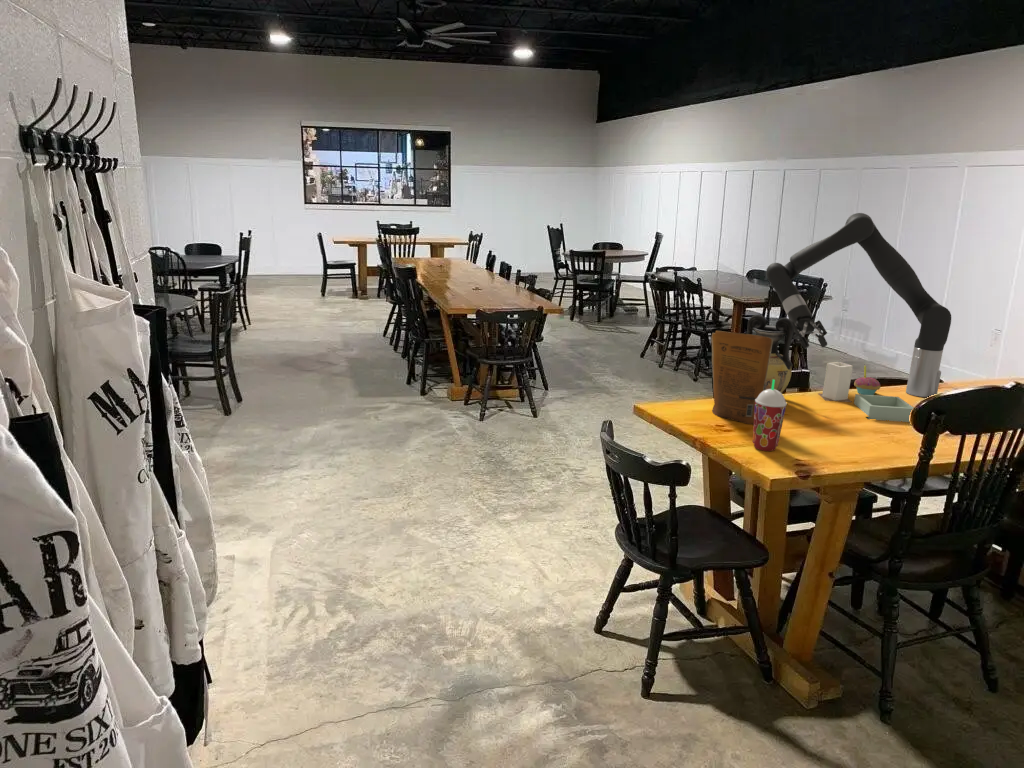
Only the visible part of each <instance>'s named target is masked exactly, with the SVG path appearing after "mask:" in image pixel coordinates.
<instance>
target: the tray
mask: <svg viewBox="0 0 1024 768" xmlns="http://www.w3.org/2000/svg"><path fill="white" fill-rule="evenodd" d="M853 400H854V402H853V404H854V405H855V406H856V407H857V408H858V409H859V410H861V411H862V412H863V413H864V414H865V415H867V416H865V418H866V419H867V420H870V419H876V420H875V421H886V420H887V421H886V422H888V420H889V422H901V421H902V423H905V422H906V423H910V422H909V415H910V412H911V410H912V409H913V408H915V407H913V406H912V405H911V404H909V403H908V402H906V401H905V400H904V399H902V398H901V397H900V396H894V395H893V396H891V395H875V394H874V395H862V394H859V393H855V395H854V399H853Z"/></svg>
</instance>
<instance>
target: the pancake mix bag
mask: <svg viewBox="0 0 1024 768" xmlns="http://www.w3.org/2000/svg"><path fill="white" fill-rule="evenodd" d="M710 337H711V338H710V342H711V364H712V366H711V367H712V369H711V371H712V385H713V386H712V388H713V389H712V392H713V403H714V404H713V407H712V410H711V412H712V414H714V415H715V416H716V415H717V416H716V417H720V418H725V419H727V420H732V421H735V422H736V421H737V422H739V423H743V424H747V425H754V412H755V399H756V398H757V397H758V395H759V394H760V393H761V392H762V391H763V389H764V384H765V381H766V376H767V371H768V365H769V359H770V355H771V349H772V344H773V340H772V339H771V338H769V337H765V336H759V335H756V334H753V335H752V334H747V333H741V332H740V333H739V332H730V331H725V330H724V331H722V330H715V332H712V333H711V336H710Z"/></svg>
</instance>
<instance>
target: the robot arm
mask: <svg viewBox="0 0 1024 768" xmlns="http://www.w3.org/2000/svg"><path fill="white" fill-rule="evenodd" d="M855 244H858V245H859V246H860V247H861V248H862V249H863V250H864V252H866V254H867V255H868V257H869V259H870V261H871V263H872V265H873V266H874V268H875V269H876V271H877V272H878V274H879V275H880V276H881V278H882V279H884V281H885V282H886V283H887V285H888V286H890V288H891V289H892V290H893V291H894V292H895V293H896V294H897V295H898V296H899V297H900V298H901V299H902V300H903V301H904V302H905V303H906V304H907V305H908V307H909V308H910V310H911V311H912V313H913V314H914V316H915V317H916V319H917V321H918V322H919V324H920V329H919V333H918V336H917V338H916V339H915V341H914V345H913V352H912V356H911V363H910V367H909V372H908V379H907V383H906V384H907V385H906V390H905V393H906V394H908V395H911V396H914V397H915V396H916V397H920V398H929V397H928V396H931V395H934V394H937V395H938V390H939V385H940V380H941V376H942V375H941V374H942V371H941V370H940V367H941V363H942V362H941V361H942V358H943V352H944V349H945V348H944V346H946V343H947V341H948V337H949V333H950V328H951V325H952V314H951V311H950V310H949V309H948V308H947V307H945V306H943V305H942V304H940V303H938V302H937V301H936V300H935V299H934V298H933V297H932V296H931V295H930V294H929V292H927V291H926V289H925V288H924V286H923V285H922V282H921V281H920V279H919V277H918V275H917V273H916V271H915V270H914V269H913V267H912V266H911V265H910V264H909V262H908V261H907V260H906V259H905V258H904V257H903V255H901V254H900V252H899V251H898V250H897V249H896V248H895V247H893V246H892V245H891V244H890V243H889V242H888V241H887V240H886V239H885V238H884V237H883V235H882V233H881V232H880V231H879V229H878V228H877V226H876V225H875V223H874V220H873V219H872V217H871V216H870V215H868V214H866V213H865V212H864V213H863V212H857V213H853V214H851V215H850V216H849V217H848V218H847V220H846V222H845V224H844V226H842V227H841V228H839V230H836V231H835V232H834V233H832V234H830V235H829V236H827V237H825V238H823V239H821V240H819V241H818V240H817V241H816V242H813V243H812V244H809V245H808V246H806V247H804V248H802V249H800V250H799V251H798V252H796V253H794V254H792V255H791V256H790V258H789V261H788V262H787V263H786V264H784V265H783V264H782V263H779V262H772V263H771V264H769V265H768V266H767V268H766V272H765V274H766V278H767V280H768V281H769V283H770V285H771V286H772V288H773V289H774V291H775V293H776V294H777V296H778V299H779V300H780V303H781V305H782V306H783V310H784V311H785V314H786V316H787V318H788V319H790V320H791V321H792V322H793V325H794V331H793V336H792V339H793V340H797V341H798V342H799V343H800V344H801V346H802V348H803V349H804V350H806V349H808V348H809V347H810V343H809V341H808V340H807V338H806V337H805V335H811V336H812V337H816V339H817V340H818V343H819V344H820V346H821V348H826V347H827V346H828V342H827V339H826V338H825V336H826V335H827V334H828V332H827V330H826V329H825V327H824V325H823V324H822V321H820V320H817V321H813V319H812V318H813V316H812V315H813V314H812V313H811V311H810V309H809V306H808V305H807V303H806V301H805V299H804V298H803V297H802V294H801V293H800V291H799V290H798V288H797V286H796V285H795V284H794V283H793V282H792V281H793V280H794V279H795V278H797V277H798V276H799V275H800V274H801V273H802V272H803V271H805V270H807V269H809V268H812V266H814V265H816V264H817V263H819V262H820V261H822V260H824V259H826V258H828V257H830V256H831V255H832V254H835V253H836V252H838V251H840V250H842V249H845V248H847V247H850V246H852V245H855Z"/></svg>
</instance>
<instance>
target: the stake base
mask: <svg viewBox="0 0 1024 768" xmlns="http://www.w3.org/2000/svg"><path fill="white" fill-rule="evenodd" d="M817 394H818V395H819V396H820V397H821V398H822V400H824V401H826V402H827V401H828V402H844V403H853V401H852V400H851V399H849V398H848V399H845V400H837V401H835V400H832V399H829V398H826V397H823V396H822V393H820V392H819V393H817Z"/></svg>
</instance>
